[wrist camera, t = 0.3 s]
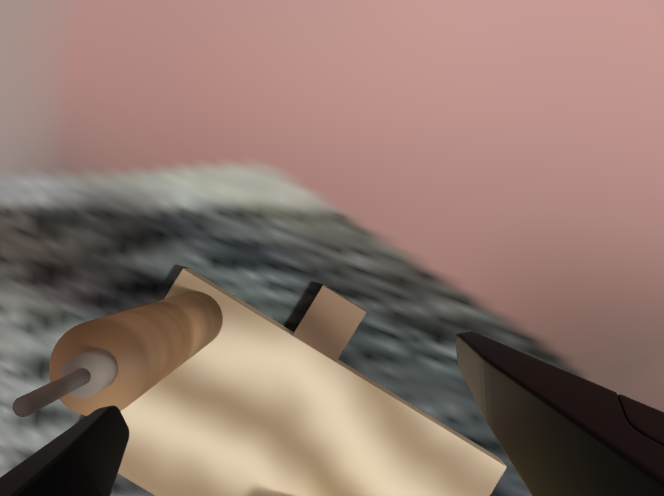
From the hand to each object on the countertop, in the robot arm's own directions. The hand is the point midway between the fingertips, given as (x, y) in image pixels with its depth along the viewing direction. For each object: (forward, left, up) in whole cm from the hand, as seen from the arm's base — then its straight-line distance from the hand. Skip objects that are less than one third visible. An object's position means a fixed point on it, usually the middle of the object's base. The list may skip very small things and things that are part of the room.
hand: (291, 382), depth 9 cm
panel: (-10, -4, -15) cm, 18 cm away
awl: (-5, +6, -14) cm, 16 cm away
